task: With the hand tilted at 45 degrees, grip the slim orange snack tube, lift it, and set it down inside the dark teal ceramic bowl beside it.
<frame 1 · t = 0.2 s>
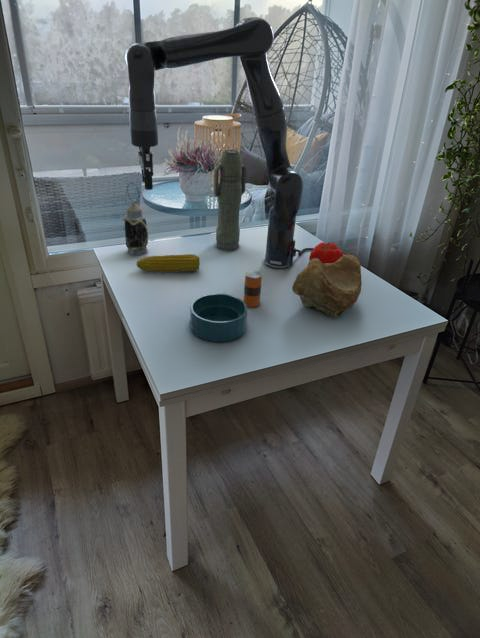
hand: (147, 185, 133), 29 cm above the table, tool pointing down, fingers open, 8 cm apart
snack tube: (251, 303, 135), on the table
lantern: (137, 252, 162), on the table
thermos: (227, 246, 171), on the table
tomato: (324, 270, 158), on the table
bowl: (218, 327, 122), on the table
rough brown rock: (329, 308, 135), on the table
food: (169, 271, 150), on the table
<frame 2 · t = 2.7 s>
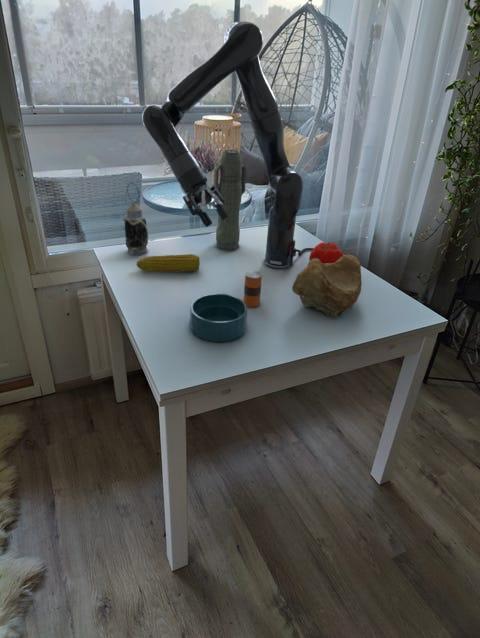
hand: (217, 221, 129), 23 cm above the table, tool tilted 40°, fingers open, 8 cm apart
nothing on the table moved.
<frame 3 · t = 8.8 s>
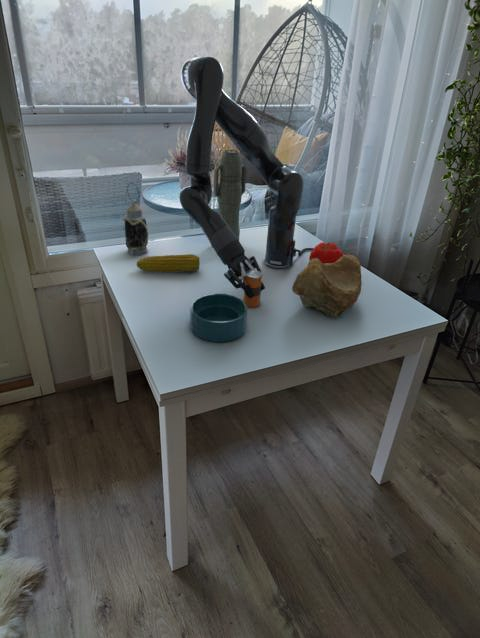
hand: (257, 293, 132), 4 cm above the table, tool tilted 45°, fingers closed on snack tube, 5 cm apart
snack tube: (251, 303, 135), on the table, touching gripper
everything else where it was.
when the fingers open (5 cm above the table, at t = 17.8 s): snack tube stays where it is, resting on bowl.
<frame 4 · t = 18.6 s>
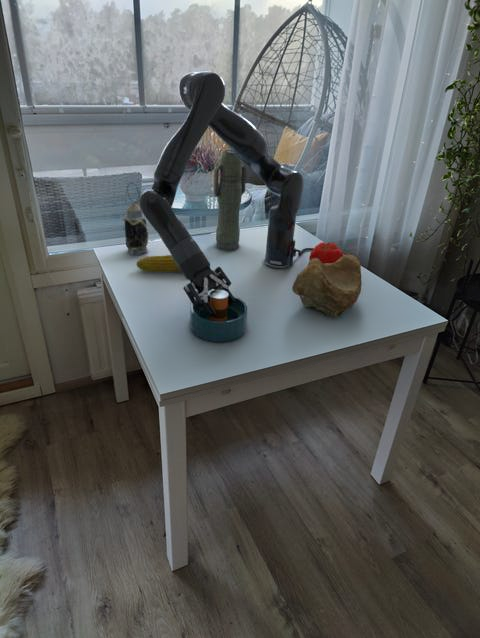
hand: (223, 309, 118), 6 cm above the table, tool tilted 45°, fingers open, 8 cm apart
snack tube: (218, 325, 122), point 1 cm above the table, touching bowl
everything else where it was.
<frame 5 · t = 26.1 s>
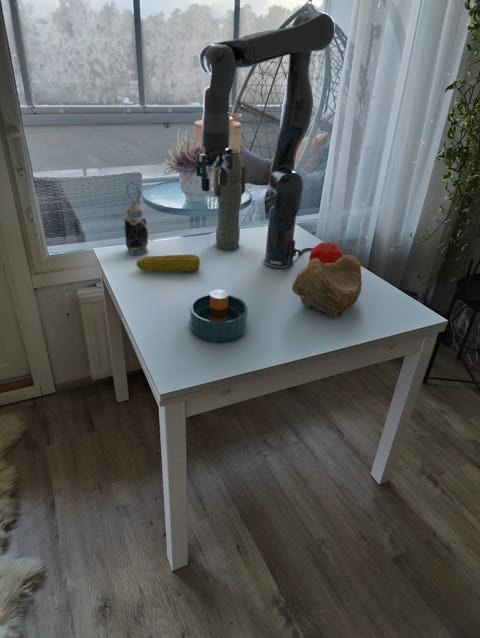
hand: (214, 188, 131), 30 cm above the table, tool pointing down, fingers open, 8 cm apart
nothing on the table moved.
at the end: snack tube inside the target area in the bowl (0.1 cm from its centre), point 0.6 cm above the bowl's base; the gripper is holding nothing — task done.
